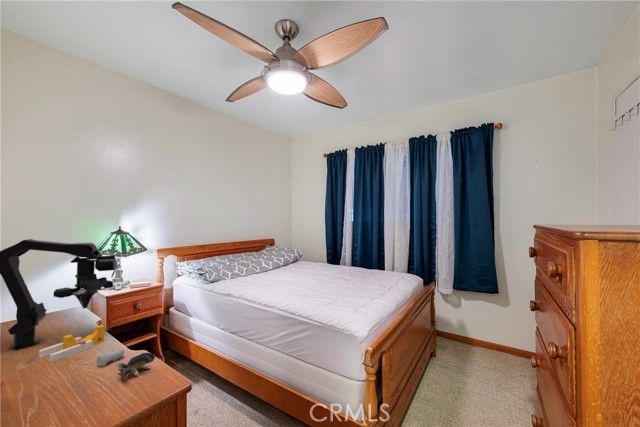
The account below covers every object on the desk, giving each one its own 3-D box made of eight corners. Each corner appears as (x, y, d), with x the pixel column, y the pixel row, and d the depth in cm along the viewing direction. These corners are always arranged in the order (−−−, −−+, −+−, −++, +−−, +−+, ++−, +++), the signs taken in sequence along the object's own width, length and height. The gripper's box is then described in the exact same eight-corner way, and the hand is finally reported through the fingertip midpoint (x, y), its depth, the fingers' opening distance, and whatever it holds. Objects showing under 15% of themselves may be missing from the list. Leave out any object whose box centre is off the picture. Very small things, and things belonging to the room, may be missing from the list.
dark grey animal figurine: (131, 382, 78) (159, 362, 86) (119, 362, 79) (149, 343, 87) (121, 389, 82) (149, 369, 90) (110, 369, 82) (139, 351, 90)
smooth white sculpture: (118, 358, 96) (127, 356, 95) (93, 369, 89) (101, 367, 87) (117, 346, 97) (125, 344, 95) (91, 356, 90) (100, 354, 88)
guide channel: (38, 356, 95) (39, 347, 95) (79, 342, 106) (79, 334, 106) (52, 362, 91) (52, 352, 91) (92, 347, 102) (93, 338, 102)
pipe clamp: (98, 339, 109) (98, 324, 109) (104, 341, 107) (104, 326, 107) (60, 352, 98) (60, 335, 98) (66, 355, 96) (66, 338, 96)
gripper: (68, 278, 101) (67, 318, 100) (120, 269, 118) (120, 304, 117) (53, 275, 105) (52, 314, 105) (106, 267, 122) (105, 301, 122)
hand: (84, 308), depth 112 cm, fingers closed
